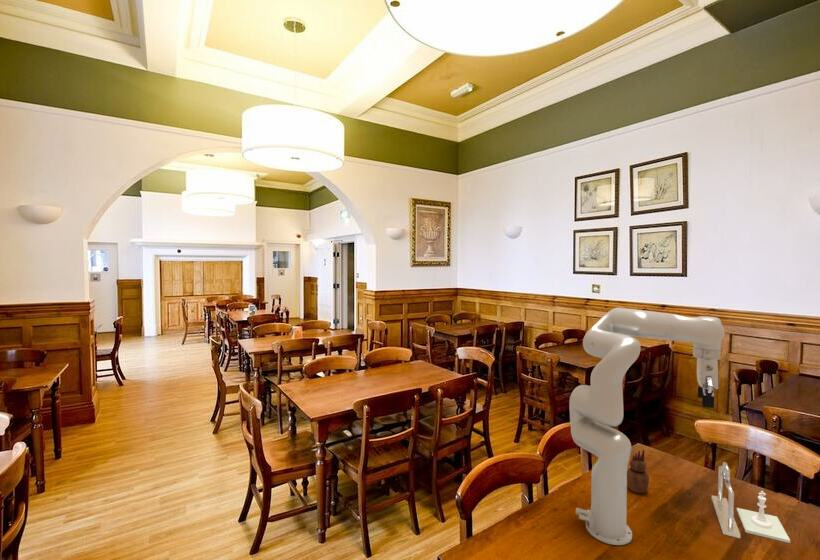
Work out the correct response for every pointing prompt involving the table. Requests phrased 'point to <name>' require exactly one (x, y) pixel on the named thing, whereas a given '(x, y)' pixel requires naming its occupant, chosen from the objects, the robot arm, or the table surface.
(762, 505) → the chess piece
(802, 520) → the table surface
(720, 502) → the silver metal frame stand
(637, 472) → the wooden figurine
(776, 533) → the pad
